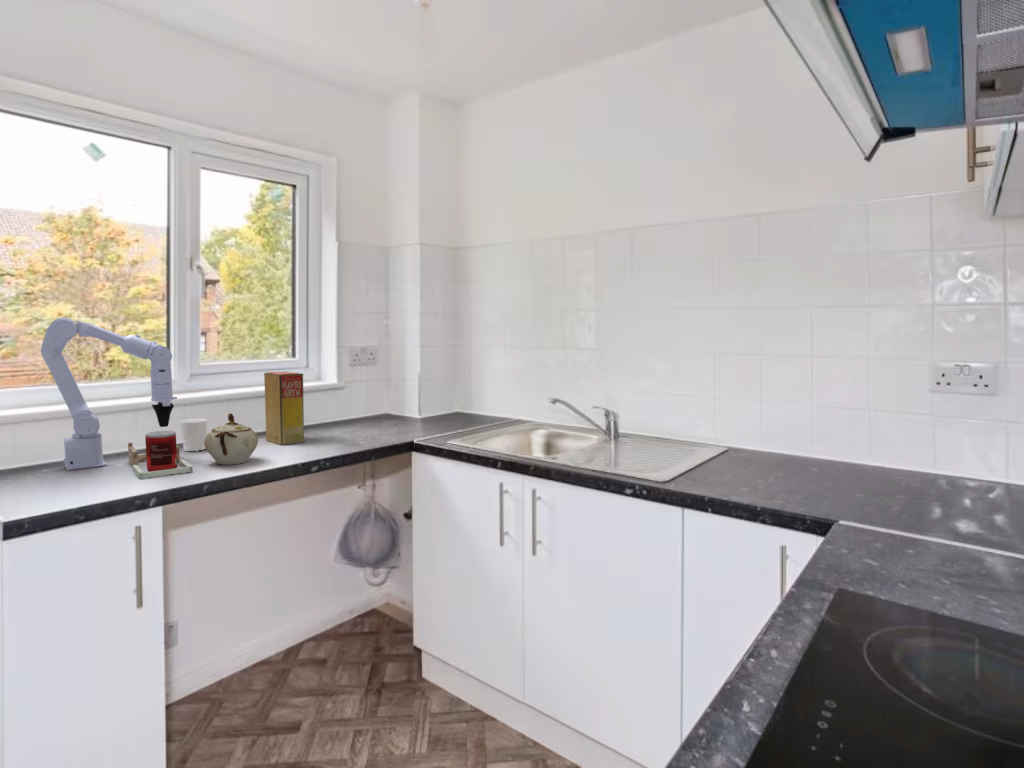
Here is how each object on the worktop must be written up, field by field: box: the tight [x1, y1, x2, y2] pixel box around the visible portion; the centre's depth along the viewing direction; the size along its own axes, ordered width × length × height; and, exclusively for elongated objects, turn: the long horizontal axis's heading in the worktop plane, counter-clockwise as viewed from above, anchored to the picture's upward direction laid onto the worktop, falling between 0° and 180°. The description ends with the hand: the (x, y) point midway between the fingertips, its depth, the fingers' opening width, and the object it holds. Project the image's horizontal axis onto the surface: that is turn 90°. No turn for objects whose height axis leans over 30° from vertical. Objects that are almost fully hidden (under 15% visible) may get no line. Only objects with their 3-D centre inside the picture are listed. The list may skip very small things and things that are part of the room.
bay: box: [132, 458, 194, 479], centre depth 175 cm, size 13×13×2 cm
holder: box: [127, 441, 181, 467], centre depth 186 cm, size 12×11×6 cm
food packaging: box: [263, 371, 305, 446], centre depth 220 cm, size 13×9×25 cm
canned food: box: [144, 430, 178, 472], centre depth 176 cm, size 8×8×11 cm
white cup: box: [180, 418, 208, 452], centre depth 205 cm, size 8×8×10 cm
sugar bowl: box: [204, 413, 259, 466], centre depth 187 cm, size 20×15×15 cm
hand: (163, 426), depth 193 cm, fingers closed
